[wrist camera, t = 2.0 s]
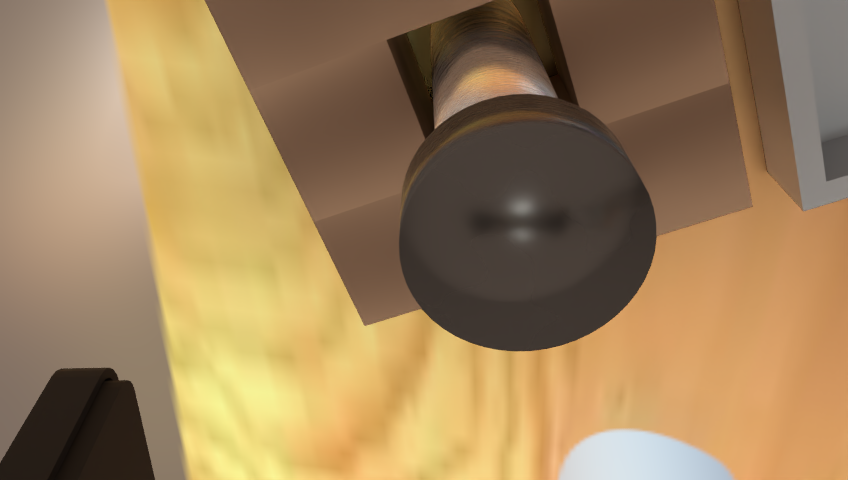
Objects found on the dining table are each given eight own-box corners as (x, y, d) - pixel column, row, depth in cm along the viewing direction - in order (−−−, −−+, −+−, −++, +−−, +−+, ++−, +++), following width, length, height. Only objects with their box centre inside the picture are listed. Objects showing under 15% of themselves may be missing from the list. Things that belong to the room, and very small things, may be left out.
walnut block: (699, 140, 27) (752, 206, 23) (372, 246, 29) (364, 326, 25) (617, -246, 22) (666, -255, 18) (221, -84, 24) (177, -55, 20)
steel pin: (562, 75, 26) (679, 310, 14) (435, 120, 27) (448, 377, 15) (523, -58, 24) (622, 89, 12) (387, -6, 25) (359, 179, 13)
